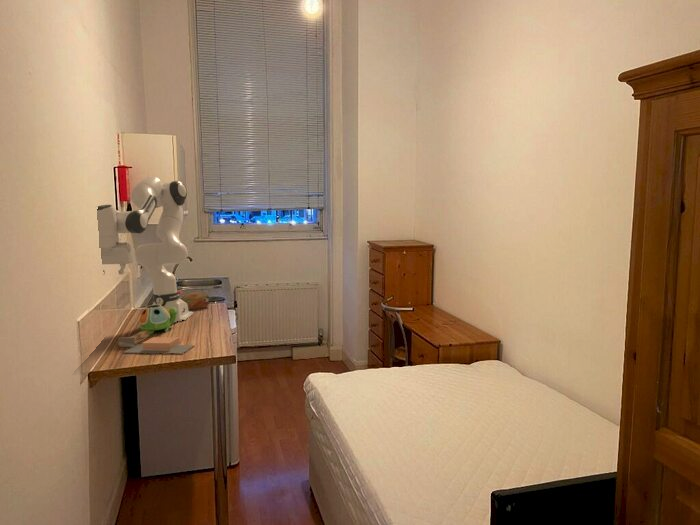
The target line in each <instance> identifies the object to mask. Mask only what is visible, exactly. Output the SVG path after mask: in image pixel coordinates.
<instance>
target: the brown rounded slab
mask: <svg viewBox="0 0 700 525" xmlns="http://www.w3.org/2000/svg"><path fill="white" fill-rule="evenodd" d="M181 300H183V301H184V302H186V303H187V305H188V310H197V309H196V308H199V309H204V308H207V307H208V306H209V304H210V303H211V302H210V301H211V299H210V296H209V295H208V294H207V293H205V292H197V293H188V294H184V295H183V296H182V298H181Z"/></svg>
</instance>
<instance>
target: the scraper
mask: <svg viewBox="0 0 700 525" xmlns="http://www.w3.org/2000/svg"><path fill="white" fill-rule="evenodd" d="M148 336H149V337H150V335H149V330H143V331H142V330H141V331H139V332H137V333H135V334H132V335H131V336H130V337H128V336H126V337H125V336H121V337H118V344H119V347H120V348H132V347H134V346H136V345H137V344H138V343H139V341H140V340H142V339H144V338H146V337H148ZM149 337H148V338H149ZM146 339H147V338H146ZM144 340H145V339H144ZM142 341H143V340H142ZM137 342H138V343H137ZM140 342H141V341H140ZM119 347H118V348H119Z"/></svg>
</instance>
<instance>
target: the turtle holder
mask: <svg viewBox="0 0 700 525" xmlns="http://www.w3.org/2000/svg"><path fill="white" fill-rule="evenodd" d="M152 307H153V308H152ZM169 313H170V316H169ZM169 313H168V312H167V310H166V309H165V308H163V307H162V306H161V305H159V304H157V305H152V304H149V305H147V306H145V307H144V309H143V310H142V311H141V313H140V317H139V321H138V322H139V325H140V326H139V328H140V330H141V331H143V330H149V334H151V335H153V334H154V332H155V331H159V330H160V331H161V330H163V332H164V331H167V332H169V331H170V326H171V325H173V324H174V323H175V322H174V321H175V319H176V314H177V313H178V311H177V310H176V308H175V307H172V308H171V309H170V310H169ZM168 330H169V331H168Z"/></svg>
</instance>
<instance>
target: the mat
mask: <svg viewBox="0 0 700 525" xmlns="http://www.w3.org/2000/svg"><path fill="white" fill-rule="evenodd" d="M194 346H195V345H193V344H192V345H191V344H190V345H189V344H188V345H187V344H184V345H183V344H180V345H178V346H177V347H175V348H174V349H172V350H143V344H135V346H134V347H129V349H126V350H124V351H122V354H130V355H131V354H133V355H137V354H138V353H149V354H148V355H160V354H159V353H162V354H161V355H167V354H166V353H177V354H176V355H184V354H185V353H184V352H186V351H187V350H189V349H190V350H192V349H193V348H195V347H194ZM192 347H193V348H192ZM191 348H192V349H191ZM190 350H189V351H190ZM187 352H188V351H187ZM187 352H186V353H187ZM164 353H165V354H164ZM180 353H181V354H180ZM183 353H184V354H183ZM138 355H139V354H138Z"/></svg>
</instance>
